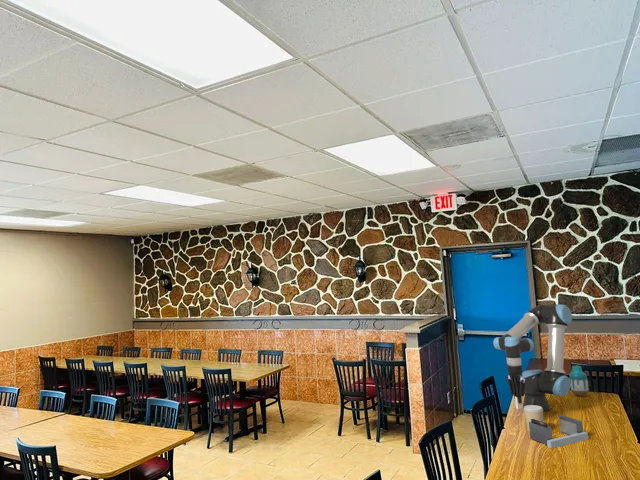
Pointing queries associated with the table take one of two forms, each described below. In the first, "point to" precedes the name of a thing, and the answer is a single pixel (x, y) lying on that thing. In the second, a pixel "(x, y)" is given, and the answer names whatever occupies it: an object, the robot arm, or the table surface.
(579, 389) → the vase
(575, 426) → the block
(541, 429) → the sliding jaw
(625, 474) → the table surface
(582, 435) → the back rail
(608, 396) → the table surface
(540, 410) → the coffee cup
